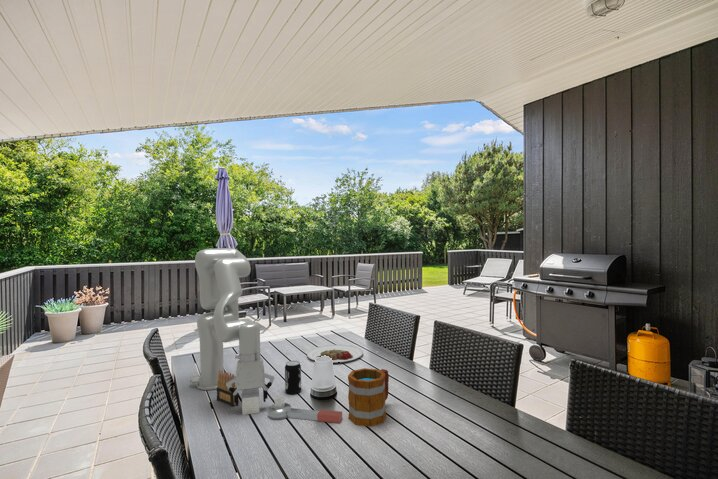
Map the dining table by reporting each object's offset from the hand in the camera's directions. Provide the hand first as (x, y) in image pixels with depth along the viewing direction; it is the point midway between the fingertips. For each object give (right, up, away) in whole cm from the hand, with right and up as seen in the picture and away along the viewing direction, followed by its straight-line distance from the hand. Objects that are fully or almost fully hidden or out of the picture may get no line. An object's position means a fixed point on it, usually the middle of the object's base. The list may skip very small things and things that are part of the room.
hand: (251, 402), depth 141 cm
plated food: (+27, -3, +64) cm, 69 cm away
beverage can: (+13, -3, +17) cm, 21 cm away
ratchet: (+21, -3, -6) cm, 22 cm away
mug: (+45, -3, -4) cm, 45 cm away
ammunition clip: (-12, -3, +7) cm, 14 cm away
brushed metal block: (0, -3, 0) cm, 3 cm away
